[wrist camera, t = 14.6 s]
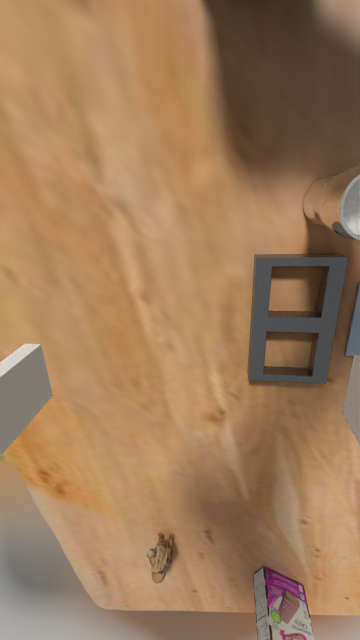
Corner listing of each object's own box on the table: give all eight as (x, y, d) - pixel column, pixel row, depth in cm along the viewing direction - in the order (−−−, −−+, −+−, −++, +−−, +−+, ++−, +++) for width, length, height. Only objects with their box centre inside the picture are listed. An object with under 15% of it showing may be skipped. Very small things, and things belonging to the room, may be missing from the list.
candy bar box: (304, 583, 71) (326, 687, 56) (292, 593, 73) (309, 695, 58) (263, 564, 71) (273, 664, 56) (251, 574, 73) (258, 673, 58)
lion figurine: (152, 520, 70) (143, 563, 62) (175, 523, 69) (168, 567, 61) (154, 559, 76) (146, 604, 67) (175, 563, 75) (169, 608, 67)
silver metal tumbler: (366, 199, 40) (441, 201, 26) (322, 239, 42) (368, 260, 28) (331, 160, 38) (391, 140, 25) (288, 203, 41) (320, 207, 27)
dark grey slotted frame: (254, 254, 44) (256, 257, 42) (341, 253, 43) (348, 257, 40) (247, 371, 52) (248, 379, 49) (321, 375, 50) (325, 383, 48)
